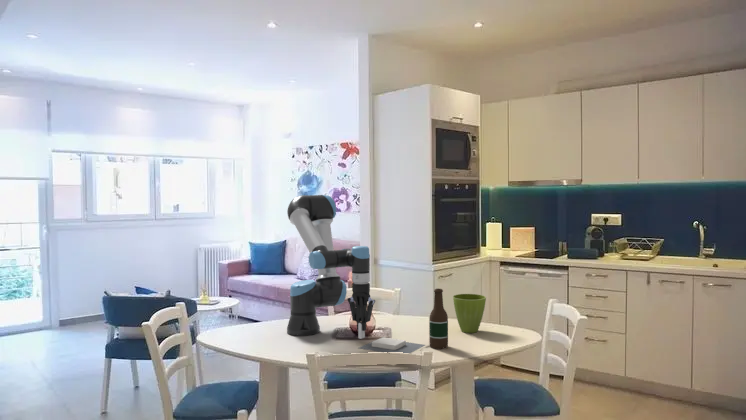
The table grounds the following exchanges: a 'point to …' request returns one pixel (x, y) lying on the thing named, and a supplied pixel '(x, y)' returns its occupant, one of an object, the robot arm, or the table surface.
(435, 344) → the beer bottle
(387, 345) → the tile
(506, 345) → the table surface
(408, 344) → the mat
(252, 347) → the table surface
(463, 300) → the flower pot
